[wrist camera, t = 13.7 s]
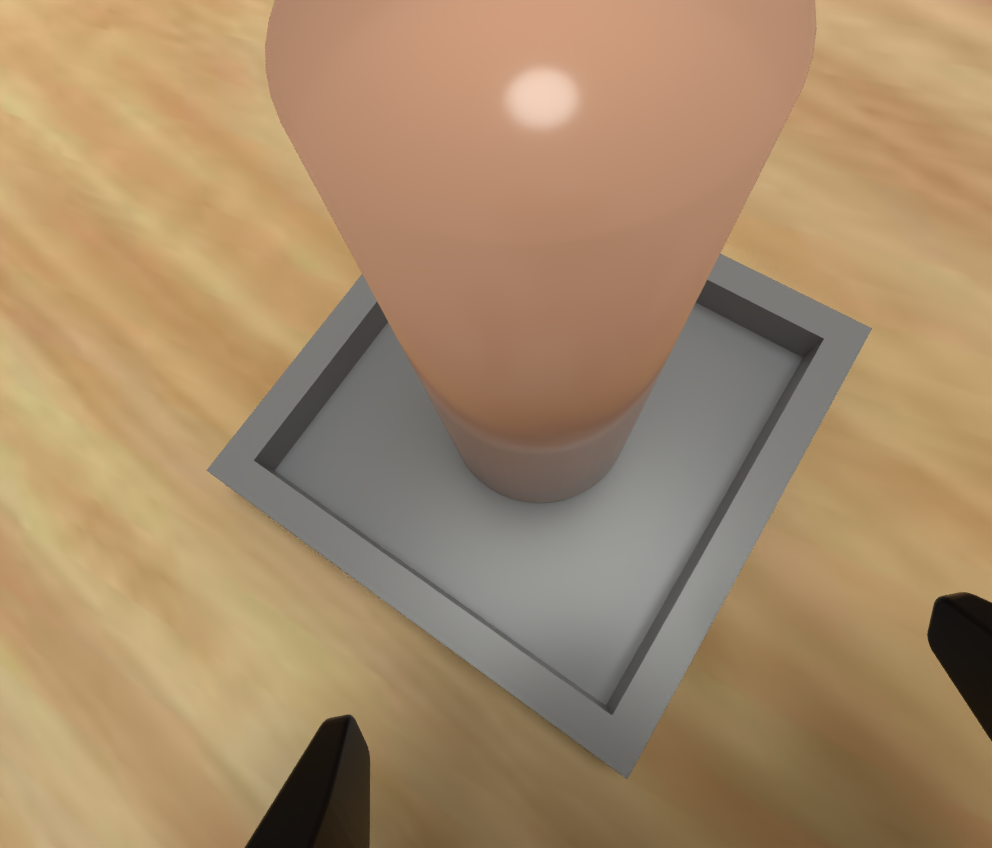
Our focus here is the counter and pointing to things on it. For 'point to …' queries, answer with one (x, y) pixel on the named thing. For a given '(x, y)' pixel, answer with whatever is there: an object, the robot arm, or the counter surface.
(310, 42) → the peach rounded cylinder
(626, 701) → the tray
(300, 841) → the robot arm
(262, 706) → the counter surface
